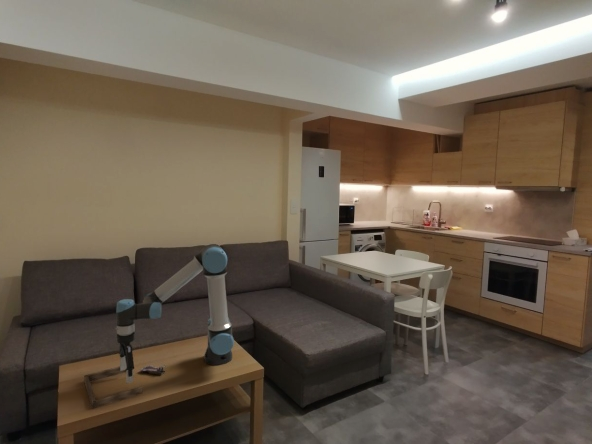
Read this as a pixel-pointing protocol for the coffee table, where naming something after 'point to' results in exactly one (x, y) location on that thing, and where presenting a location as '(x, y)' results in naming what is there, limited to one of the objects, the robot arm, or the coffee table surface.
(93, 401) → the frame
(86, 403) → the coffee table surface
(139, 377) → the coffee table surface
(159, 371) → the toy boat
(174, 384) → the coffee table surface
